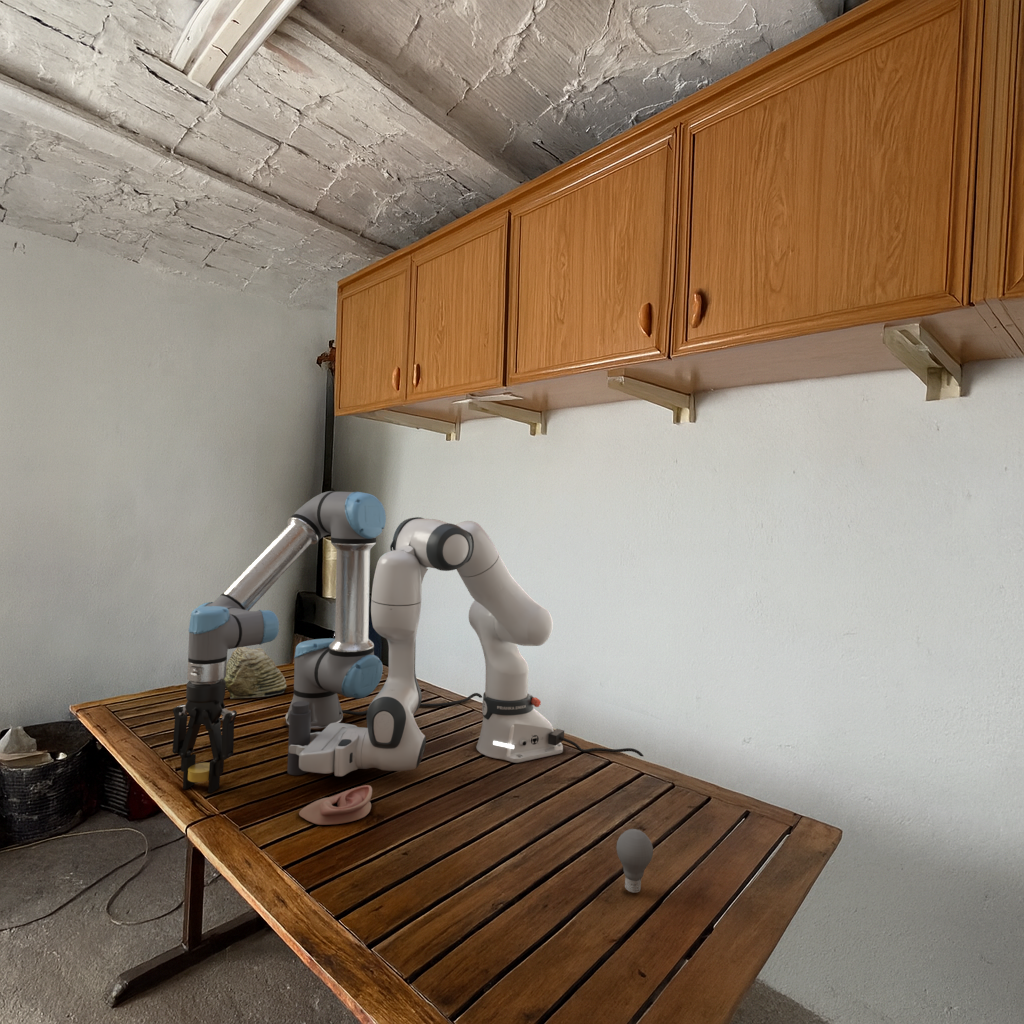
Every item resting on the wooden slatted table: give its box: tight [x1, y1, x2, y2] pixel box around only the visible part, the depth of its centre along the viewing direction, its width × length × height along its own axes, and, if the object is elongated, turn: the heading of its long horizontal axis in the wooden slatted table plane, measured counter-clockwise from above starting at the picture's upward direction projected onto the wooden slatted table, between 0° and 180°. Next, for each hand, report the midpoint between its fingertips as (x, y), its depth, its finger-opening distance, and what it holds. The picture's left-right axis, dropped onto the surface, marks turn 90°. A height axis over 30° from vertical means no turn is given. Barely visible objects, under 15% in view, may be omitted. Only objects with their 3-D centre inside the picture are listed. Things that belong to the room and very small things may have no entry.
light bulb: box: [615, 828, 654, 894], centre depth 106 cm, size 6×6×10 cm
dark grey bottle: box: [286, 701, 311, 776], centre depth 145 cm, size 5×5×16 cm
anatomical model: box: [298, 784, 373, 826], centre depth 127 cm, size 13×4×12 cm
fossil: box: [224, 646, 288, 699], centre depth 198 cm, size 9×18×15 cm, turn 132°
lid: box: [188, 762, 210, 783], centre depth 135 cm, size 5×5×2 cm
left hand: (201, 788), depth 135 cm, fingers closed on lid, 5 cm apart
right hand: (295, 743), depth 146 cm, fingers closed on dark grey bottle, 5 cm apart
